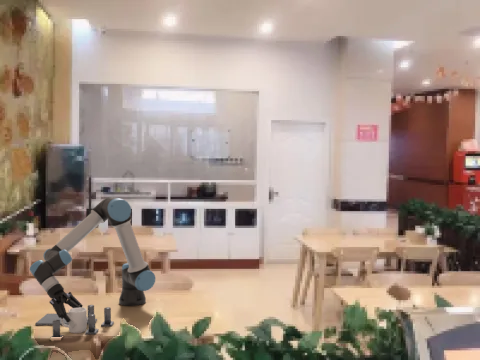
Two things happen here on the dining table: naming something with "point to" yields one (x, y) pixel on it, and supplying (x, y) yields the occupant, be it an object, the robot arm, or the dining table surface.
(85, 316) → the cup
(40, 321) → the mat
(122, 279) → the robot arm
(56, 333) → the posts
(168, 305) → the dining table surface
